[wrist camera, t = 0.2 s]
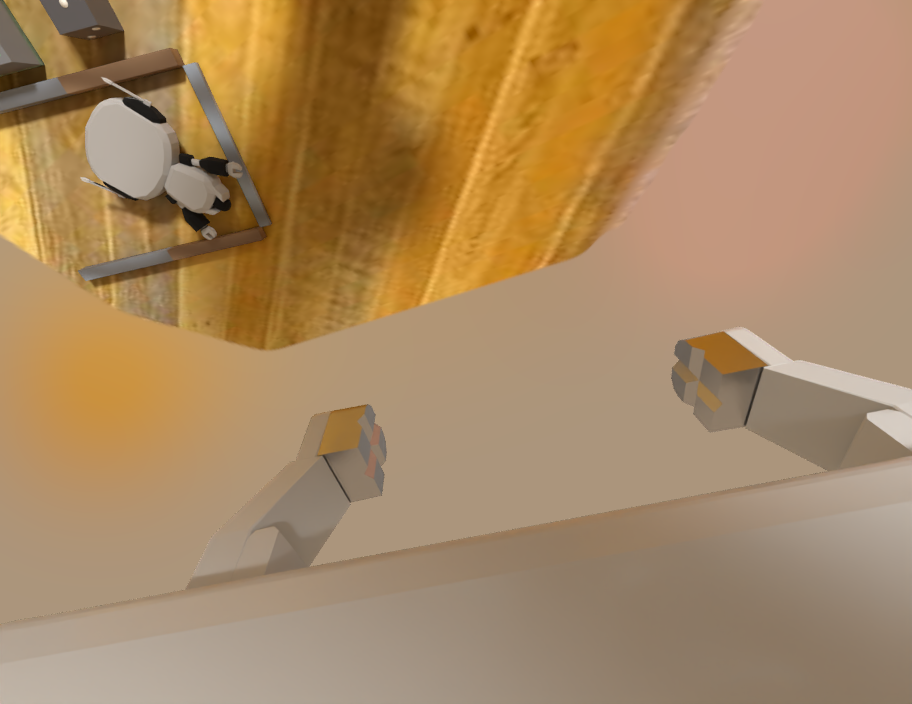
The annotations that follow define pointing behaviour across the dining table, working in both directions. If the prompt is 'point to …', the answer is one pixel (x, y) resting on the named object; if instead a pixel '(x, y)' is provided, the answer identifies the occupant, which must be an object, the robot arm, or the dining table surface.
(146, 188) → the robot toy
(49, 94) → the track
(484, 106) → the dining table surface
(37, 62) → the tray
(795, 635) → the robot arm
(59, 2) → the die
